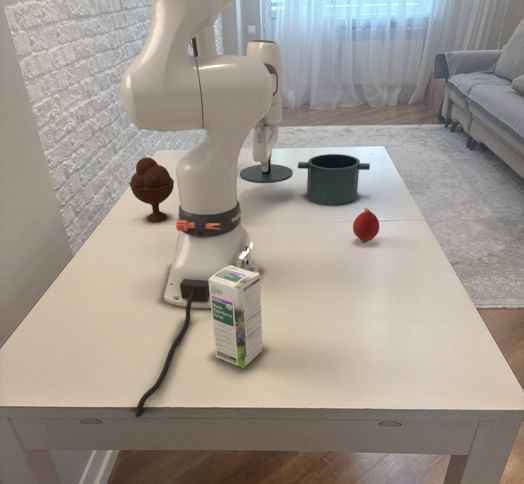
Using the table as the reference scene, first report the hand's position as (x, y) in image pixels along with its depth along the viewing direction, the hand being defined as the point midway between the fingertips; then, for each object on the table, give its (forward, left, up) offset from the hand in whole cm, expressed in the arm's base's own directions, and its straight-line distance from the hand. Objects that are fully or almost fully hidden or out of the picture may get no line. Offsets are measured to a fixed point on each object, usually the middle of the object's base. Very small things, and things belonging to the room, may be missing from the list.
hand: (266, 168), depth 134 cm
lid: (0, 0, -2) cm, 2 cm away
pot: (+1, -18, -7) cm, 20 cm away
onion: (-28, -27, -8) cm, 40 cm away
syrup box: (-73, -7, -8) cm, 74 cm away
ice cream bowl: (-19, +26, -8) cm, 33 cm away
